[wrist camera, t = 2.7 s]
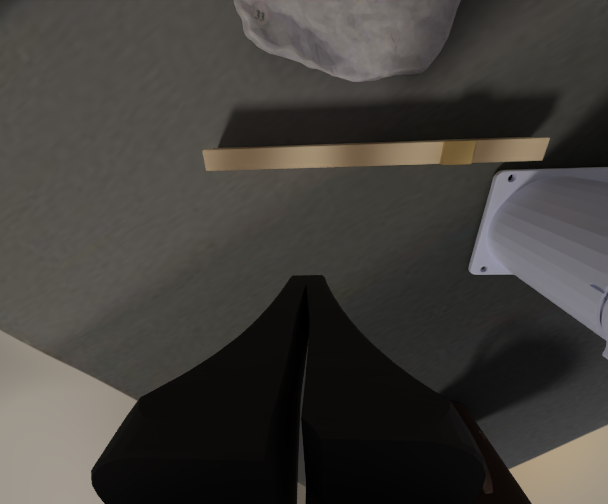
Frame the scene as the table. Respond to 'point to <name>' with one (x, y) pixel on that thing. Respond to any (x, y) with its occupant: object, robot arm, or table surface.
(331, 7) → the stone block
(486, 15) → the table surface
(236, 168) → the beam track
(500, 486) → the coffee mug
